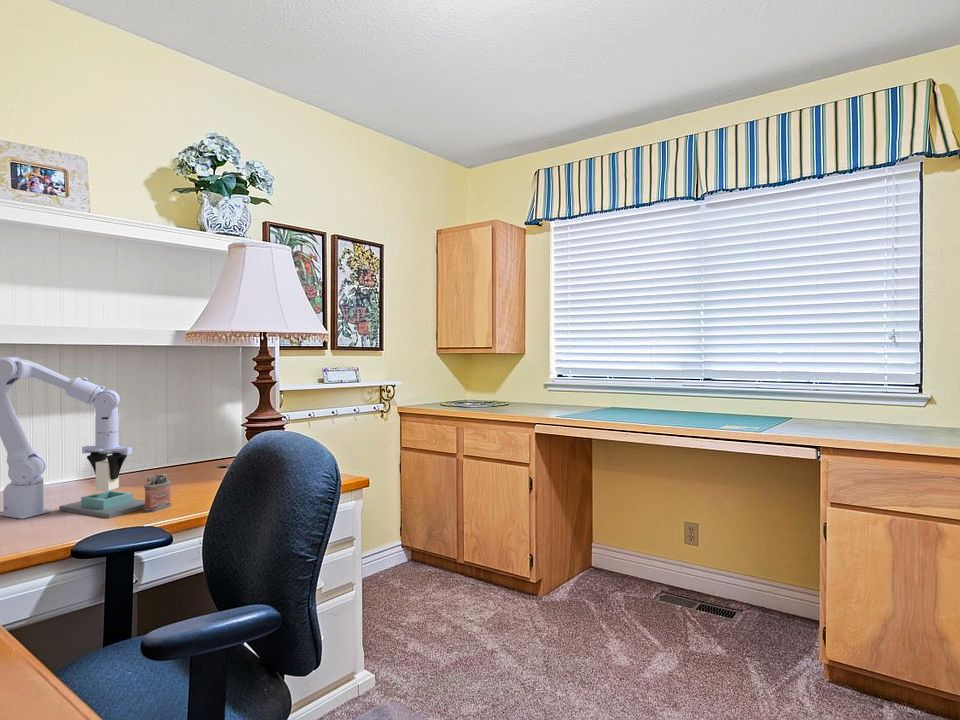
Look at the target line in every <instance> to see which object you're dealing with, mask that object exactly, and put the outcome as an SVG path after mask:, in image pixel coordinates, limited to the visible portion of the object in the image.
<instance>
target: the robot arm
mask: <svg viewBox="0 0 960 720" xmlns="http://www.w3.org/2000/svg"><path fill="white" fill-rule="evenodd" d="M22 378H23V379H26V378H29V379H30V378H34V379H37V380H39V381H41V382H45V383H47V384H51V385H53V386H54V387H55V386H56V387H58V388H61V389H62V390H63V389H64V391H65V395H67V396H68V397H70V398H73V399H75V400H77V401H79V402H83V403H85V404H87V405H93V407H94V408H95V420H94V421H95V423H94V424H95V425H94V426H95V427H94V428H95V430H94V431H95V432H94V435H95V436H94V437H95V444H94V445H85V446H82V447H81V454H89V455H87V456H86V459H87V460H88V462H89V463H90V465H91V467H92V468H93V471H94V474H95V475H94V476H96V462H99V461H103V460H108V463H109V467H110V478H111V480H114V479H117V478H118V476H119V477H120V472H121V469H122V466H123V464H124V462H125V460H126V458H127V457H128V455H132V454H133V447H132V446H122V445H119V443H120V442H119V436H120V435H119V431H120V429H119V427H120V426H119V419H120V418H119V407H118V406H119V404H120V401H121V399H120V395H119V394H118V393H117V392H116V391H115V390H113V389H111V388H107V389H106V386H104V385H98V384H96V383H93V382H90V381H89V378H87V377H82V378H81V377H78V376H77V377H75V378H74V377H73V378H70V377H67V376H65V375H63V374H61V373H58V372H57V371H54V370H52V369H50V368H48V367H46V366H43V365H41V364H40V363H37V362H34V361H32V360H29V359H23V358H21V357H20V356H15V355H14V356H12V355H11V356H0V439H1V442H2V444H3V446H4V448H5V450H6V454H7V456H6V463H7V466H8V470H7V475H8V478H9V480H10V482H9V483H8V484H7V485H6V486H5V487H4V489H3V493H2V494H3V496H2V501H3V503H2V507H3V508H2V509H3V511H2V512H0V516H4V517H9V518H14V519H20V520H23V519H26V518H31V517H35V516H39V515H43V514H46V513H51V512H52V510H51V509H49V508H48V509H47V508H44V507H45V506H44V504H45V503H44V502H45V501H44V490H45V489H44V488H45V487H44V477H43V476H42V475H43V473H45V472H44V471H46V466H47V465H46V461H45V460H44V459H43V458H42V457H41V456H40V455H38V453H37V451H36V449H34V447H33V446H31V444H30V443H29V440H28V438H27V436H26V434H25V432H24V429H23V426H22V425H21V423H20V420H19V417H18V415H17V413H16V411H15V409H14V406H13V404H12V402H11V399H10V398H9V395H8V392H9V391H10V389H11V387H12V386H13V384H14V383H15V382H16V381H18V380H19V379H22ZM108 454H110V455H108Z"/></svg>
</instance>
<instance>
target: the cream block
mask: <svg viewBox="0 0 960 720" xmlns="http://www.w3.org/2000/svg"><path fill="white" fill-rule="evenodd" d="M119 483H120V475H119V476H118V478H117V479H114V480H111V478H110V467H109V463H108V460H107V459H106V460H103V461H99V462H96V475H95V491H105V492H106V491H110V490H112V491H113V490H115V489H118V488H119V487H120V485H119Z"/></svg>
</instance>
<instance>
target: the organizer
mask: <svg viewBox="0 0 960 720" xmlns="http://www.w3.org/2000/svg"><path fill="white" fill-rule="evenodd" d="M133 494H134V493H133V492H125V491H118V490H113V489H112V490H109V491H106V490H105V491H102V492H98V493H94V494H89V495H85V496H81V498H80V499H81V500H80V501H74V502H70V503H67V504H62V505H59V508H58V510H59V511H62V512H67V513H73V514H79V515H87V516H91V517H92V516H93V517H98V518H99V517H100V518H105V519H106V518H107V519H112V518H114V517H115V518H116V517H119V516H122V515H125V514H129V513H133V512H136V511H140V510H144V508H145V499H137V498H133Z"/></svg>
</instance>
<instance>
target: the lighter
mask: <svg viewBox="0 0 960 720" xmlns="http://www.w3.org/2000/svg"><path fill="white" fill-rule="evenodd" d="M167 478H168V474H167V473H164V474H162V473H156V474H155V475H151V476H148V477H147V478H146V482H148V484H144V486H143V489H144V500H145V508H144V509H143V512H144V513H154V512H158V511H161V510H165V508H166V509H168V508H171V507H172V503H171V485H172V480H169V479H168V480H167ZM170 506H171V507H170Z"/></svg>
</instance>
